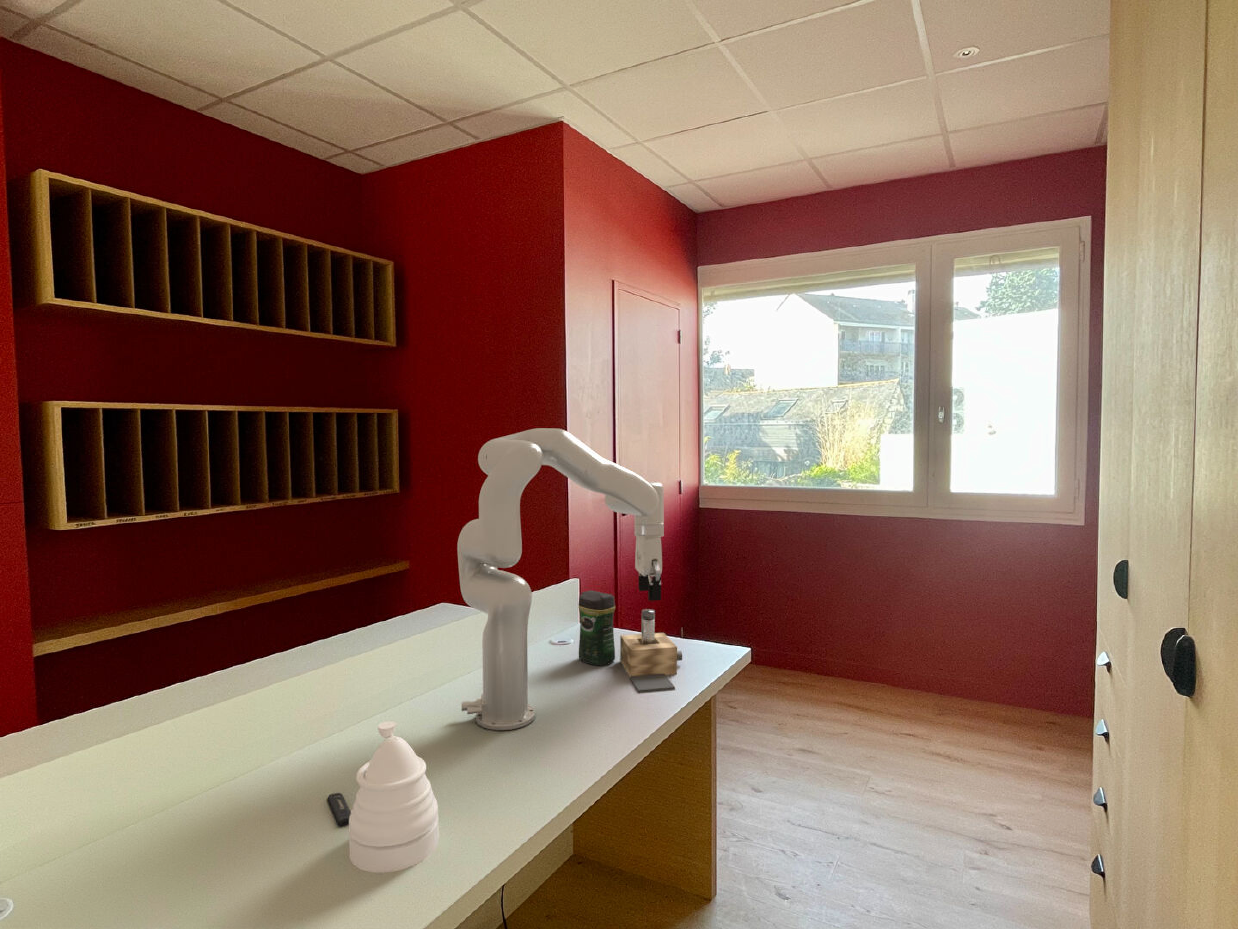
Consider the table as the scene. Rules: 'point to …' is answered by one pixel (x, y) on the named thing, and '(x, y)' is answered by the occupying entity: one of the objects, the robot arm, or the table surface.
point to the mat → (651, 683)
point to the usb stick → (339, 809)
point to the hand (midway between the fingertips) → (649, 595)
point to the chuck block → (649, 655)
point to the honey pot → (393, 809)
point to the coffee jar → (596, 628)
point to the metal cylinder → (648, 626)
